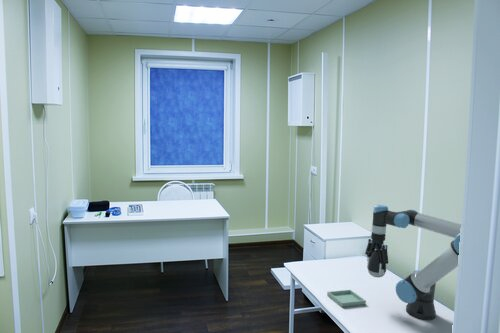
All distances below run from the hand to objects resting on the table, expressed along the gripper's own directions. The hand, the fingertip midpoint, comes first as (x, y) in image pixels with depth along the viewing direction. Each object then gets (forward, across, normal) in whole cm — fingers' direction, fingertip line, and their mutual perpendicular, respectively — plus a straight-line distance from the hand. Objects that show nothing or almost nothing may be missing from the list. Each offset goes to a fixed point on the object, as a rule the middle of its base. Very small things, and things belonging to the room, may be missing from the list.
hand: (375, 271), depth 227 cm
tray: (+19, +8, +12) cm, 24 cm away
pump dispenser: (+3, 0, -1) cm, 3 cm away
